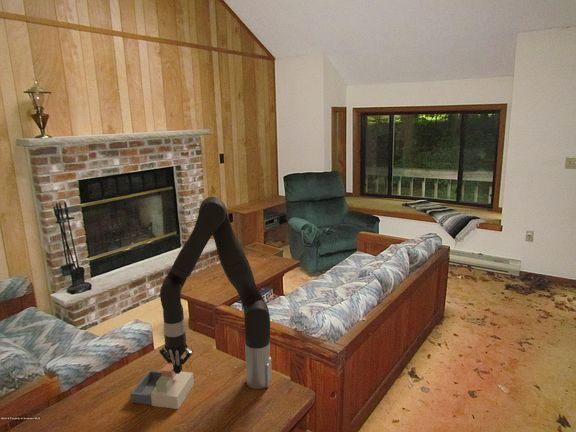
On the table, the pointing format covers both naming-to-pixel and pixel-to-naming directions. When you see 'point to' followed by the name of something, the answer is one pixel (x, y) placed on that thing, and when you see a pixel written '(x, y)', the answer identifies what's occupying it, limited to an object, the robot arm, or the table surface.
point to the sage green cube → (164, 384)
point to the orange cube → (168, 371)
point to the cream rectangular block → (174, 391)
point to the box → (145, 388)
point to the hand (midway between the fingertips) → (177, 372)
